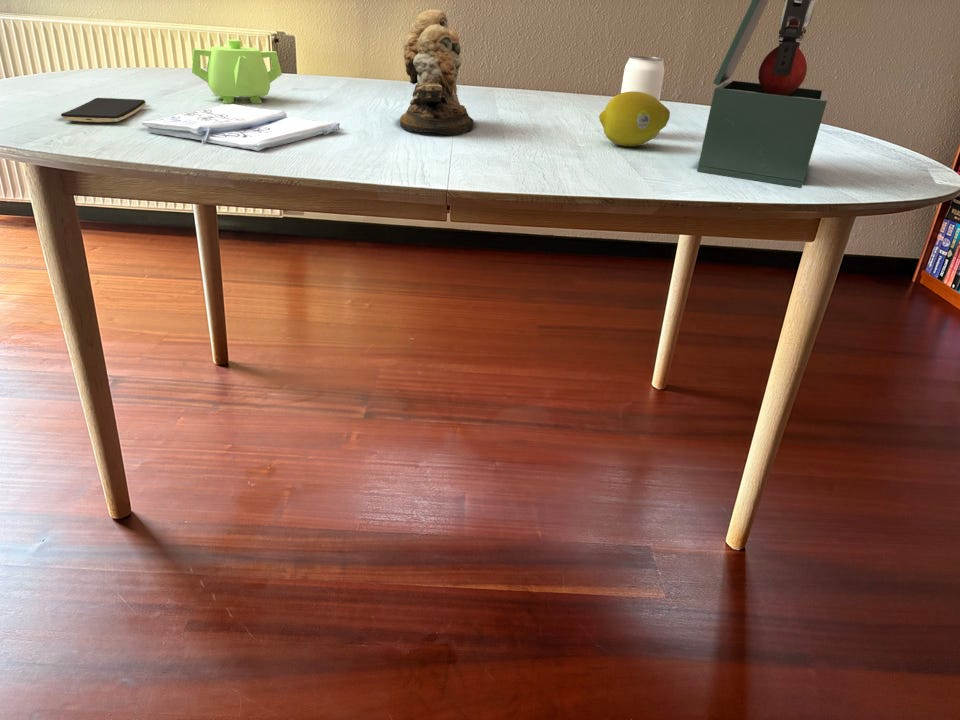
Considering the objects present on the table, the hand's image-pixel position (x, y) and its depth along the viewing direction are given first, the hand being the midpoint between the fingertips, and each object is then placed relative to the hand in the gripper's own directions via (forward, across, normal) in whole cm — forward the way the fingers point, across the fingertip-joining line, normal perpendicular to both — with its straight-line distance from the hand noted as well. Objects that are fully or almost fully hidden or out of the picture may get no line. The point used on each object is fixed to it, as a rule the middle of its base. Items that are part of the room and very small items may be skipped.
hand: (782, 72), depth 91 cm
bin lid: (-5, 0, +5) cm, 7 cm away
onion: (+4, 0, 0) cm, 4 cm away
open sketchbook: (+13, -28, +68) cm, 74 cm away
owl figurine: (+13, -4, +50) cm, 51 cm away
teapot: (+13, -7, +88) cm, 89 cm away
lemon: (+13, +4, +20) cm, 24 cm away
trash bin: (+13, 0, +1) cm, 13 cm away
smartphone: (+13, -32, +91) cm, 97 cm away
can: (+13, +15, +22) cm, 29 cm away
